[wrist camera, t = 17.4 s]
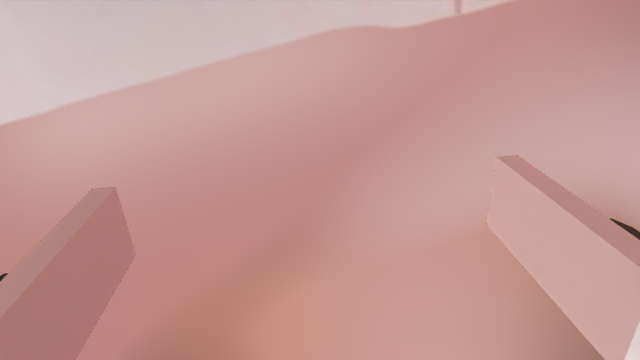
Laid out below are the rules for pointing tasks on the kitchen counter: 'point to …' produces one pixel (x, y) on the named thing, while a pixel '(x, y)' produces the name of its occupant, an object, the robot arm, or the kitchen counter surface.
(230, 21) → the kitchen counter surface
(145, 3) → the kitchen counter surface
